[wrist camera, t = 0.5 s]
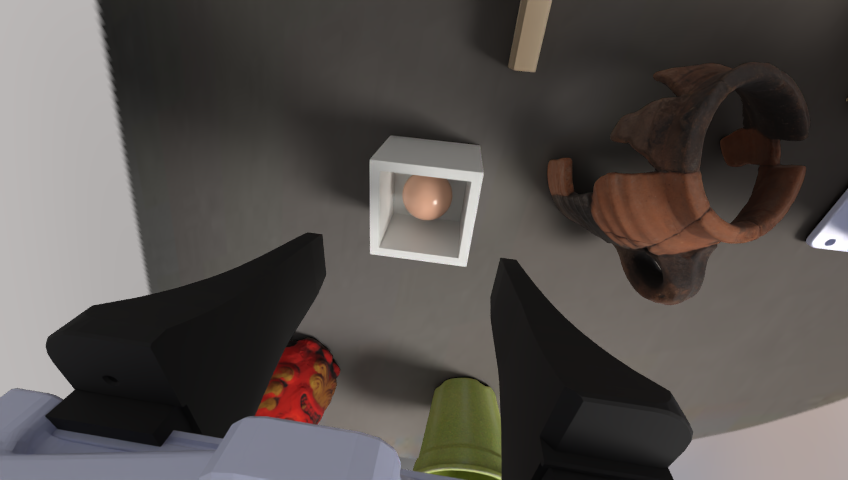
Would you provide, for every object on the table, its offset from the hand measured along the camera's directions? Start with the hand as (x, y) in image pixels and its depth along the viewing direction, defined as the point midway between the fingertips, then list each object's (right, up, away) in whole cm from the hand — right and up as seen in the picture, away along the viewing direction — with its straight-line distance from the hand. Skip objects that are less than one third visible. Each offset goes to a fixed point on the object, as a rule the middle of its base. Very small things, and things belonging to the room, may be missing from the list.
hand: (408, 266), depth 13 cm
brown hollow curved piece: (+13, +5, +7) cm, 16 cm away
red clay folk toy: (-11, -11, +19) cm, 25 cm away
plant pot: (+5, -14, +19) cm, 25 cm away
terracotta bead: (+1, +4, +6) cm, 7 cm away
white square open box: (+1, +5, +8) cm, 9 cm away
